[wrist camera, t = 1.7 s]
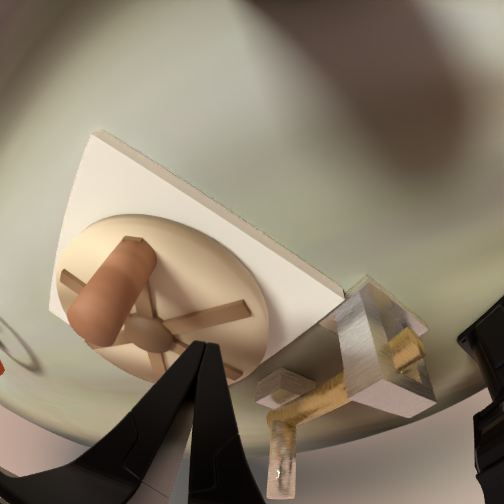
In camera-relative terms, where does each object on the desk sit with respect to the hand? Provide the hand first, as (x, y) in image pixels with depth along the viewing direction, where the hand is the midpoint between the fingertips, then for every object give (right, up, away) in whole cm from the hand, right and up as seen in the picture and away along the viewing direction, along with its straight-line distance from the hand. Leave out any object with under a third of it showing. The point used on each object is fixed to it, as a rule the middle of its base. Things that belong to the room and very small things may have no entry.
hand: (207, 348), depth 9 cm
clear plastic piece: (+7, -4, +10) cm, 13 cm away
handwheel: (-4, 0, +7) cm, 8 cm away
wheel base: (-4, 0, +8) cm, 9 cm away
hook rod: (+7, -5, +8) cm, 11 cm away
